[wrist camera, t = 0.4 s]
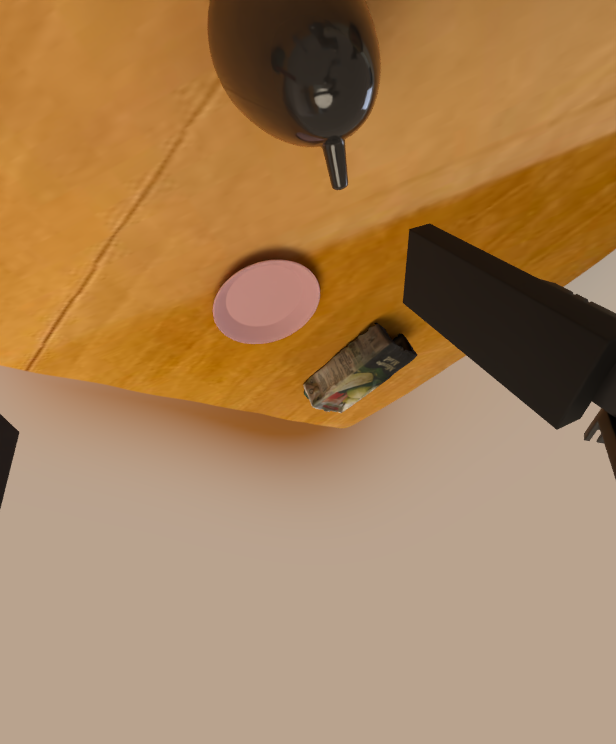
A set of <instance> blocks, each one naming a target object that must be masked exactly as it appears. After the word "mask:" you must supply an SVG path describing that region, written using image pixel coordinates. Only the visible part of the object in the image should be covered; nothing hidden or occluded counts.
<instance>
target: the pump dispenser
mask: <svg viewBox="0 0 616 744" xmlns="http://www.w3.org/2000/svg"><path fill="white" fill-rule="evenodd" d="M208 41H209V48H210V53H211V57H212V61H213V65H214V68H215V71H216V73H217V76H218V78H219V80H220V82H221V84H222V86H223V88H224V90H225V91H226V93H227V95H228V96H229V98H230V99H231V101H232V102H233V103H234V104H235V106H236V107H237V108H238V109H239V110H240V111H241V112H242V113H243V114H244V115H245V116H246V117H247V118H248V119H249V120H250V121H251V122H253V123H254V124H255V125H256V126H258V127H259V128H260V129H262V130H263V131H265V132H266V133H268V134H269V135H271V136H273V137H275V138H277V139H279V140H281V141H284V142H286V143H289V144H293V145H297V146H302V147H322V148H323V152H324V156H325V160H326V164H327V168H328V172H329V177H330V181H331V185H332V188H333V189H335V190H341V189H344V188H345V187H347V185H348V177H347V164H346V150H345V139H346V138H348V137H349V136H351V135H353V134H354V133H355V132H356V131H357V130H358V129H359V128H360V127H361V126H362V125H363V124H364V123H365V121H366V120H367V118H368V117H369V115H370V113H371V111H372V109H373V106H374V104H375V101H376V98H377V94H378V89H379V84H380V73H381V61H380V50H379V44H378V38H377V34H376V30H375V26H374V23H373V20H372V17H371V14H370V11H369V9H368V6H367V4H366V1H365V0H210V2H209V10H208Z"/></svg>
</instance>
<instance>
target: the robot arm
mask: <svg viewBox="0 0 616 744" xmlns="http://www.w3.org/2000/svg"><path fill="white" fill-rule="evenodd" d="M403 303H404V304H405V305H406V306H407V307H409V308H410V309H411V310H412V311H413V312H415V313H416V314H417V315H418V316H419V317H421V318H422V319H423V320H424V321H426V322H427V323H428V324H429V325H430V326H432V327H433V328H434V329H435V330H436V331H438V332H439V333H440V334H441V335H443V336H444V337H445V338H446V339H447V340H449V341H450V342H451V343H452V344H453V345H455V346H456V347H457V348H458V349H460V350H461V351H462V352H463V353H464V354H466V355H467V356H468V357H469V358H470V359H472V360H473V361H474V362H475V363H476V364H478V365H479V366H480V367H481V368H483V369H484V370H485V371H486V372H487V373H489V374H490V375H491V376H492V377H494V378H495V379H496V380H497V381H498V382H500V383H501V384H502V385H503V386H504V387H506V388H507V389H508V390H509V391H510V392H512V393H513V394H514V395H515V396H517V397H518V398H519V399H520V400H521V401H523V402H524V403H525V404H526V405H527V406H529V407H530V408H531V409H532V410H534V411H535V412H536V413H537V414H538V415H540V416H541V417H542V418H543V419H544V420H546V421H547V422H548V423H549V424H551V425H552V426H553V427H554V428H555V429H559V428H562V427H564V426H566V425H568V424H570V423H572V422H574V421H576V420H578V419H580V418H581V417H582V415H583V414H584V412H585V411H586V409H587V408H588V406H589V404H590V403H591V401H592V402H594V403H595V404H597V405H598V406H599V407H601V410H600V411H599V413H598V414H597V416H596V417H595V418H594V420H593V421H592V423H591V424H590V426H589V427H588V429H587V430H586V432H585V433H584V440H587V441H590V439H591V438H592V436H593V435H594V434H595V432H596V431H597V430H599V429H600V431H601V435H600V436H599V438H598V439H597V442H599V443H604V444H605V447H606V450H607V453H608V456H609V459H610V463H611V466H612V469H613V472H614V476H615V479H616V313H614V312H612V311H610V310H608V309H606V308H604V307H602V306H600V305H598V304H596V303H594V302H588V299H586V298H584V297H582V296H580V295H578V294H576V295H574V294H573V292H572V291H570V290H568V289H566V288H564V287H562V286H560V285H558V284H556V283H553V282H549V281H545V280H541V279H538V278H536V277H534V276H532V275H530V274H528V273H526V272H524V271H522V270H520V269H518V268H516V267H514V266H512V265H510V264H508V263H507V262H505V261H503V260H501V259H499V258H497V257H495V256H493V255H491V254H489V253H487V252H485V251H483V250H481V249H479V248H477V247H475V246H473V245H471V244H469V243H467V242H465V241H463V240H461V239H459V238H457V237H455V236H453V235H451V234H449V233H447V232H445V231H443V230H441V229H439V228H437V227H435V226H433V225H431V224H426V225H423V226H419V227H416V228H412V229H409V240H408V251H407V262H406V273H405V284H404V296H403ZM18 435H19V431H18V430H17V429H15V428H14V427H13V426H12V425H11V424H10V423H9V422H8V421H7V420H6V419H5V418H4V417H3V416H2V415H1V414H0V508H1V503H2V500H3V496H4V492H5V488H6V484H7V480H8V475H9V471H10V468H11V463H12V460H13V456H14V452H15V448H16V443H17V439H18Z"/></svg>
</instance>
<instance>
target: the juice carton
mask: <svg viewBox="0 0 616 744" xmlns="http://www.w3.org/2000/svg"><path fill="white" fill-rule="evenodd" d="M375 324H376V325H375V326H373V327H369V330H368V332H366V333H365V334H362V335H359V336H358V338H357V339H355V340H354V341H353V342H351V343H350V344H349V345H348V347H347V348H346V347H345V348H344V349H342V350H341V351H340V353H338V354H337V355H336V356H334V357H333V358H332V359H331V360H330V361H329V362H328V363H327V364H326V365H325V366H323V367H322V368H321V369H320V370H319V371H318V372H316V373H315V374H314V375H313V376H311V377H310V378H309V379H308V381H307V382H305V383H304V384H303V385H304V388H305V389H304V395H305V396H306V397H307V398H308V399H309V400H310V402H311V405H312V407H314V408H316V409H323V410H324V411H329V412H330V411H334V412H340V413H342V412H343V411H345V410H346V409H348V408H349V407H351V406H352V405H353V404H354V403H356V402H358V401H359V400H360V399H362V398H363V397H365V396H366V395H367V394H369V393H370V392H372V391H373V390H374V389H376V388H377V387H378V386H379V385H381V384H382V383H383V382H385V381H386V380H388V379H389V378H390V377H391V376H392V375H393V374H394V373H396V372H397V371H398V370H400V369H401V368H403V367H404V366H405V365H407V364H408V363H410V362H411V361H412V360H413V359H414V358H415V357H416V356H417V354H416V352H415V351H414V350H413V348H412V346H411V345H410V343H409V342H408V340H407V338H406V337H405V336H404V335H403V334H399V335H398V336H397V337H395V338H394V339H393V340H392V339H391V338H390V337H389V335H388V333H387V332H386V330H385V329H384V328H383V327H382V326H380V325H379V324H378V323H375Z"/></svg>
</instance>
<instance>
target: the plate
mask: <svg viewBox="0 0 616 744" xmlns="http://www.w3.org/2000/svg"><path fill="white" fill-rule="evenodd" d="M319 299H320V287H319V284H318V281H317V279H316V277H315V276H314V274H313V273H312V272H311V271H310V270H309V269H308V268H306V267H305V266H303V265H301V264H299V263H296V262H293V261H289V260H266V261H261V262H258V263H254V264H252V265H249V266H247V267H245V268H243V269H241V270H239V271H238V272H236V273H235V274H234V275H232V276H231V277H230V278H229V279H228V280H227V281H226V282H225V283H224V284H223V285H222V287H221V288H220V289H219V291H218V293H217V295H216V297H215V300H214V304H213V317H214V321H215V323H216V325H217V327H218V328H219V330H220V331H221V332H222V333H223V334H225V335H226V336H227V337H229V338H231V339H233V340H235V341H238V342H242V343H248V344H263V343H269V342H273V341H277V340H280V339H282V338H285V337H287V336H289V335H291V334H292V333H294V332H296V331H297V330H298V329H300V328H301V327H302V326H303V325H304V324H305V323H306V322H307V321H308V320H309V319H310V318H311V317H312V315H313V314H314V312H315V310H316V308H317V306H318V303H319Z"/></svg>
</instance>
